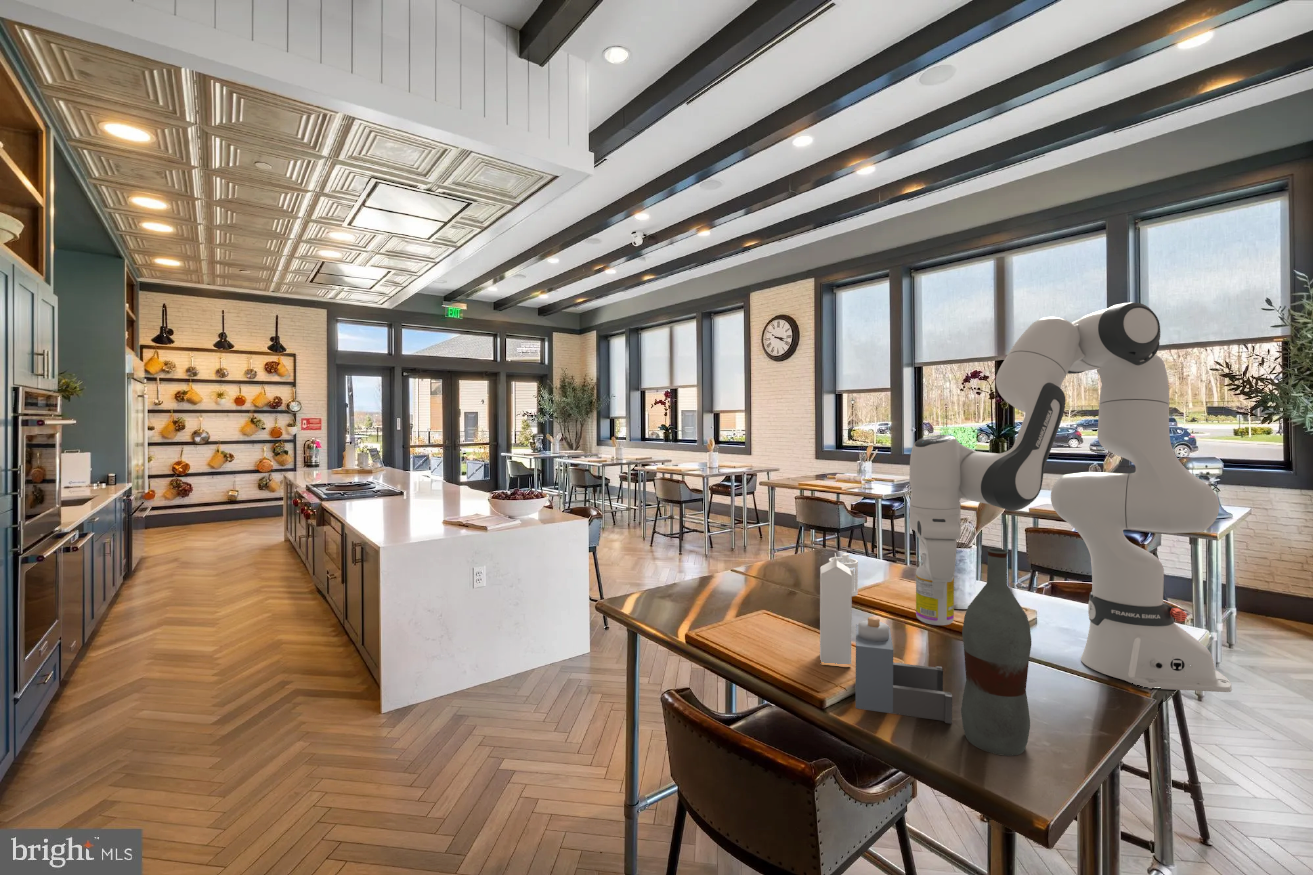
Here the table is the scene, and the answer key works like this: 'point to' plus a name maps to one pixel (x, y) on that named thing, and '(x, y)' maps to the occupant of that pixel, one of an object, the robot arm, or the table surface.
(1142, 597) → the robot arm
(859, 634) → the grey bottle caddy
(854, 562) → the white container
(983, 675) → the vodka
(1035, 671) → the table surface
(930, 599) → the supplement bottle
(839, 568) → the milk
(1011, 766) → the table surface
